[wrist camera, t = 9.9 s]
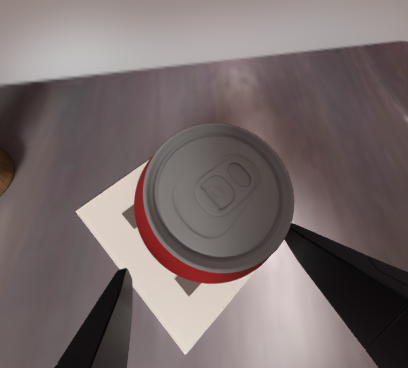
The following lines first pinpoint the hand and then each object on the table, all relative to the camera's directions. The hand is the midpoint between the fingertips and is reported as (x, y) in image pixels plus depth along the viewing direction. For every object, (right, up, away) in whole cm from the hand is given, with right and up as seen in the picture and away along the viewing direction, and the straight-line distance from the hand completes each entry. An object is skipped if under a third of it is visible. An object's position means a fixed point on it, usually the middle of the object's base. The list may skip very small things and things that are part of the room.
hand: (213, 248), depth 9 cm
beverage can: (-1, 0, +8) cm, 8 cm away
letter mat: (-2, 0, +8) cm, 9 cm away
